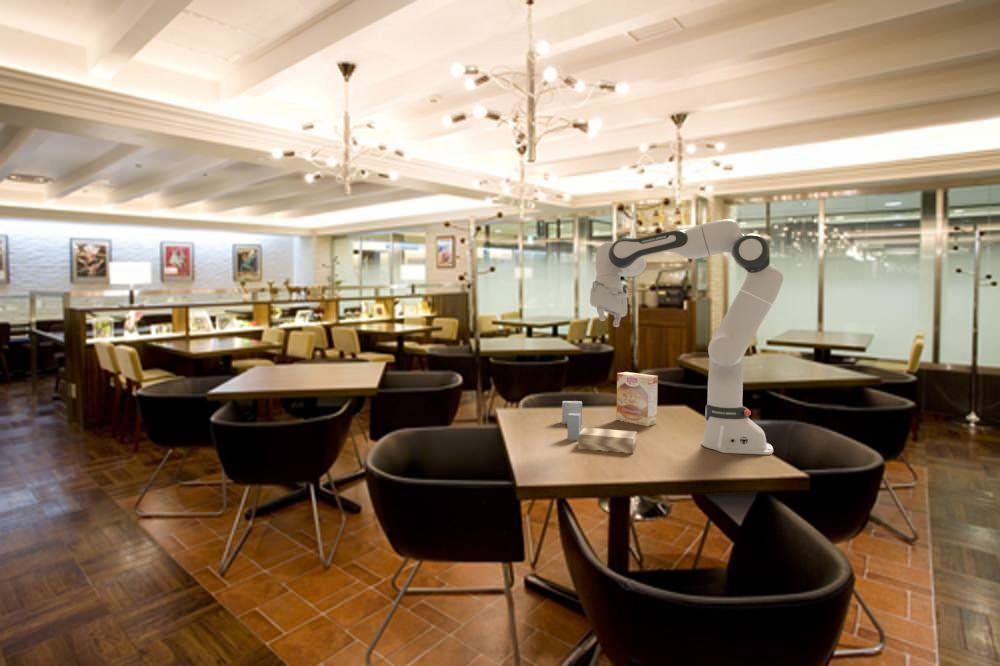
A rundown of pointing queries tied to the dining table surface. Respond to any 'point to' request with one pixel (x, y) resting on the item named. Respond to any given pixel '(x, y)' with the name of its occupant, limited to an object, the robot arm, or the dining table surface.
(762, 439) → the robot arm
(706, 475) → the dining table surface
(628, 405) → the coffeecake box
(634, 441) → the block
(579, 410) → the medicine box
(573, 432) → the pillar
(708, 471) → the dining table surface
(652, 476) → the dining table surface
